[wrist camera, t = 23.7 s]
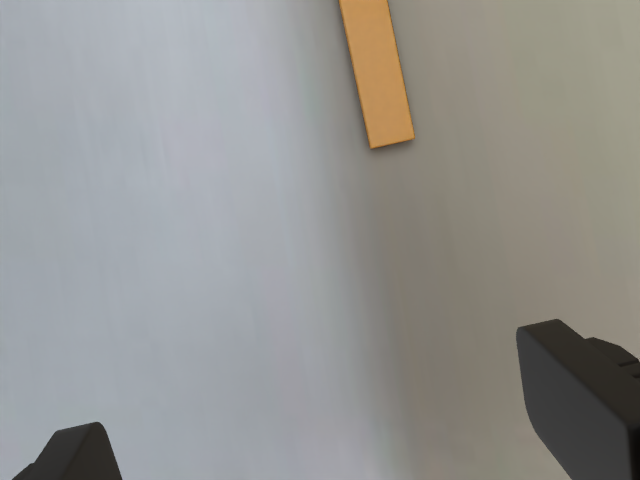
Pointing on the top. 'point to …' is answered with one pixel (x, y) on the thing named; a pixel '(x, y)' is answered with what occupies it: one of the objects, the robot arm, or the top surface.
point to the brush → (377, 71)
